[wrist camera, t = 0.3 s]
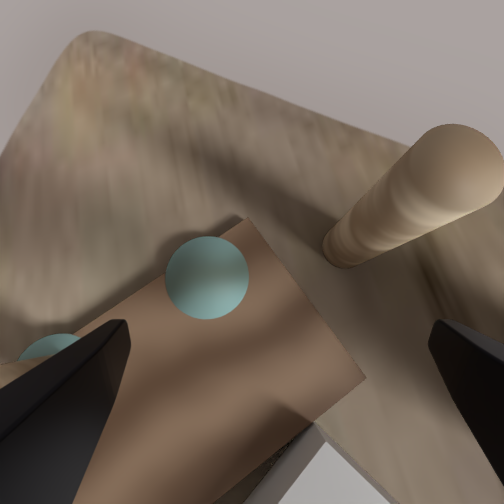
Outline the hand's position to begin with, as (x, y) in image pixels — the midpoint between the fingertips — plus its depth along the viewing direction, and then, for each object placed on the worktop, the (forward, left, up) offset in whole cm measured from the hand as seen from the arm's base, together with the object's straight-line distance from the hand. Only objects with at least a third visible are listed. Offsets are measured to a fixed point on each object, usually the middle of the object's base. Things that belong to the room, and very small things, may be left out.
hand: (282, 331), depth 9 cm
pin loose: (+1, -9, -14) cm, 16 cm away
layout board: (0, +6, -14) cm, 15 cm away
